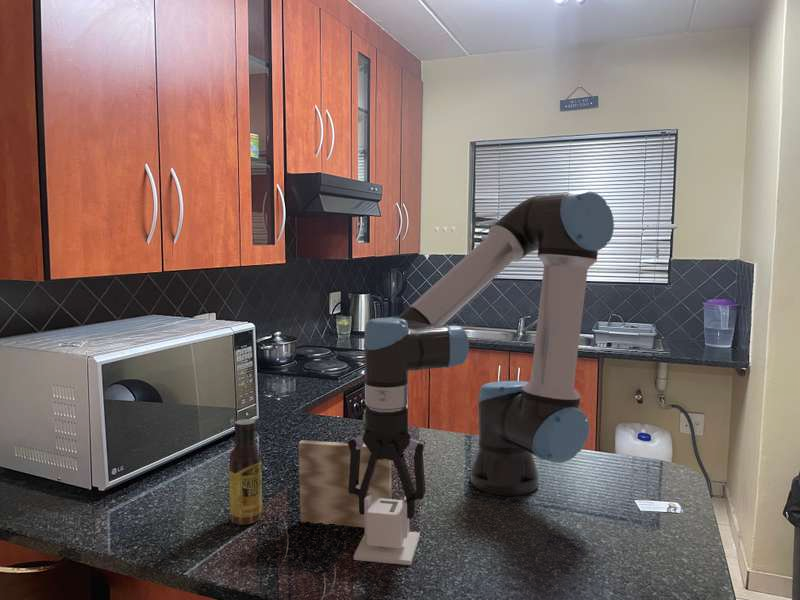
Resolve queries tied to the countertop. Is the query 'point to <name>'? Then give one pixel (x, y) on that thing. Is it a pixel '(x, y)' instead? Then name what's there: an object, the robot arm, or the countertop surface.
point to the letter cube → (385, 523)
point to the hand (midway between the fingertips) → (387, 532)
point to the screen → (336, 483)
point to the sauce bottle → (245, 476)
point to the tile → (388, 551)
